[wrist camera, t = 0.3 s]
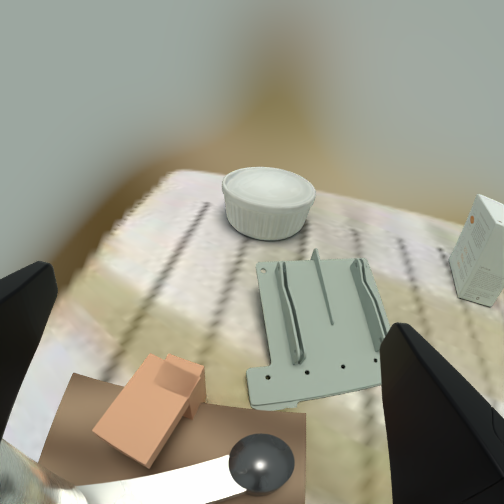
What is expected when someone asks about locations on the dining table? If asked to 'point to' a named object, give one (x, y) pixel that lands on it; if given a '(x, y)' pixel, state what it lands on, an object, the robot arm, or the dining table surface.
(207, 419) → the board
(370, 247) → the dining table surface
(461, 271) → the small box
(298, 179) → the ramekin
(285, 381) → the metal bracket
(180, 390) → the block
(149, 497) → the grey cylinder with bar
